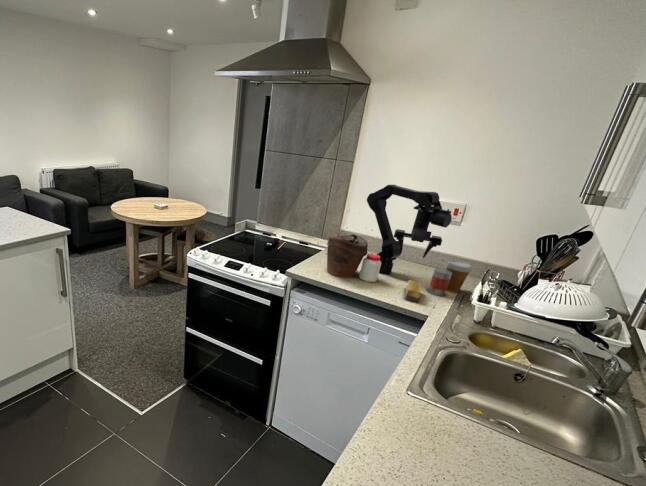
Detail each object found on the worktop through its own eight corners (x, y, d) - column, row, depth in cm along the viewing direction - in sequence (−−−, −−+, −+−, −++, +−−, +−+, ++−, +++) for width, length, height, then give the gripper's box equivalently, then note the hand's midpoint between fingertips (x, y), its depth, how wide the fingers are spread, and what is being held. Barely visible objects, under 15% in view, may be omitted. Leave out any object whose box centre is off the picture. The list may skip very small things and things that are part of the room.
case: (357, 267, 191) (365, 232, 184) (364, 282, 173) (374, 243, 165) (319, 262, 193) (327, 227, 186) (323, 277, 175) (331, 238, 168)
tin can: (427, 293, 167) (434, 271, 163) (427, 288, 173) (434, 267, 169) (445, 297, 165) (453, 275, 161) (444, 292, 170) (452, 270, 166)
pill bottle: (377, 277, 180) (383, 255, 176) (376, 283, 173) (382, 259, 169) (359, 274, 183) (365, 251, 178) (358, 279, 176) (364, 256, 172)
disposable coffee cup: (460, 287, 177) (469, 262, 172) (465, 295, 168) (475, 269, 163) (437, 283, 179) (445, 258, 174) (441, 291, 171) (450, 265, 166)
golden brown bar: (404, 299, 159) (408, 289, 157) (406, 289, 170) (409, 279, 168) (417, 302, 157) (420, 292, 155) (417, 291, 168) (420, 282, 166)
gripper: (397, 220, 166) (388, 255, 172) (447, 229, 158) (435, 265, 164) (399, 216, 175) (390, 249, 181) (446, 224, 167) (434, 258, 174)
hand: (411, 255), depth 175 cm, fingers open, 9 cm apart
